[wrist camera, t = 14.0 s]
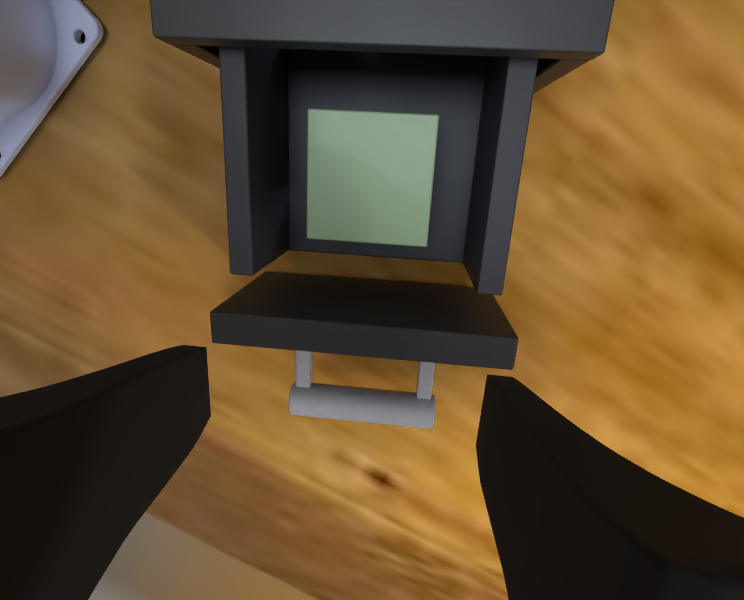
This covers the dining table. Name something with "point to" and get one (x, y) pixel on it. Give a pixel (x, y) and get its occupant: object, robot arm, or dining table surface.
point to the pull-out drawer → (366, 296)
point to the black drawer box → (394, 28)
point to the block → (370, 176)
